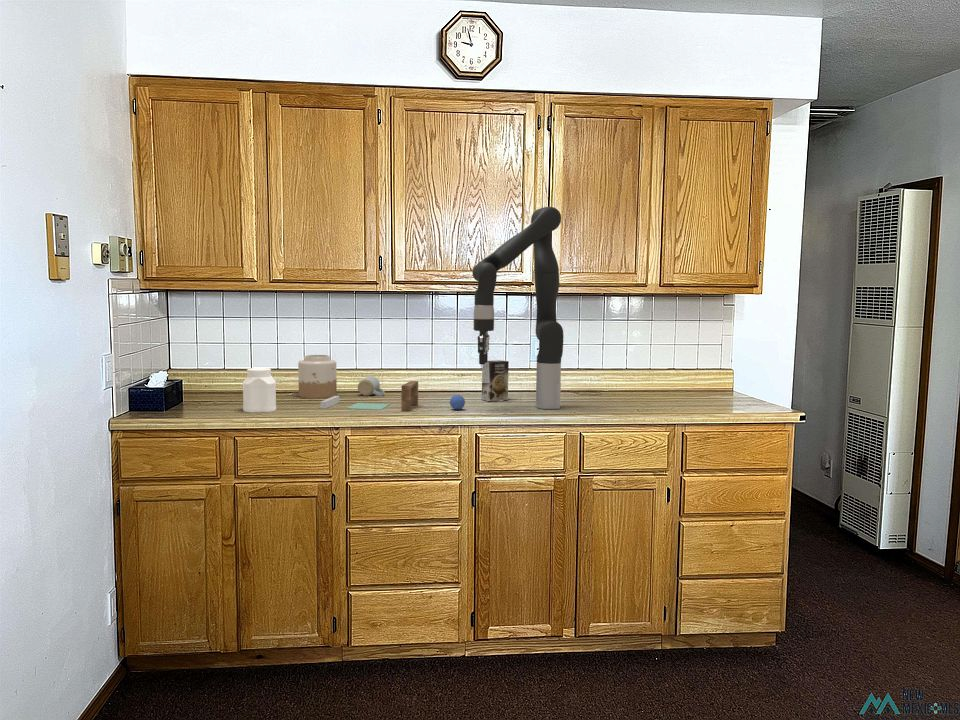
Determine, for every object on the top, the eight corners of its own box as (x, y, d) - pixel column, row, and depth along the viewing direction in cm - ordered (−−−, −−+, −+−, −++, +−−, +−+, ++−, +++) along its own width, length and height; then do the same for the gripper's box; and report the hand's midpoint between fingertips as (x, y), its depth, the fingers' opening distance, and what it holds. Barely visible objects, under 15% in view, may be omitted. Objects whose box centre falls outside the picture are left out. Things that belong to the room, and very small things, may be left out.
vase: (304, 393, 314) (304, 353, 313) (340, 394, 313) (340, 354, 312) (293, 398, 299) (293, 357, 297) (331, 399, 298) (330, 357, 296)
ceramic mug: (356, 396, 308) (356, 377, 307) (362, 393, 316) (362, 375, 315) (381, 397, 306) (381, 379, 305) (386, 394, 314) (387, 376, 313)
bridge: (418, 405, 285) (418, 381, 285) (409, 411, 271) (409, 386, 270) (410, 404, 286) (410, 380, 285) (401, 411, 271) (401, 385, 271)
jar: (241, 412, 264) (241, 370, 262) (244, 408, 273) (243, 367, 272) (275, 412, 266) (274, 370, 265) (277, 407, 275) (276, 367, 274)
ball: (465, 408, 278) (466, 393, 278) (463, 411, 273) (463, 396, 272) (451, 408, 279) (451, 393, 279) (448, 410, 274) (448, 395, 273)
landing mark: (389, 404, 286) (389, 404, 286) (380, 409, 273) (380, 409, 273) (357, 403, 288) (357, 402, 288) (346, 408, 275) (346, 408, 275)
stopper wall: (339, 402, 290) (339, 395, 290) (325, 408, 275) (325, 401, 274) (334, 402, 291) (334, 395, 290) (320, 408, 275) (320, 401, 275)
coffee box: (490, 402, 295) (490, 361, 294) (481, 400, 300) (481, 360, 299) (508, 400, 300) (509, 360, 299) (499, 398, 305) (500, 359, 304)
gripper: (491, 318, 264) (491, 365, 266) (496, 317, 278) (495, 362, 280) (470, 318, 265) (470, 365, 267) (476, 316, 279) (476, 361, 281)
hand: (483, 363), depth 273 cm, fingers open, 5 cm apart
